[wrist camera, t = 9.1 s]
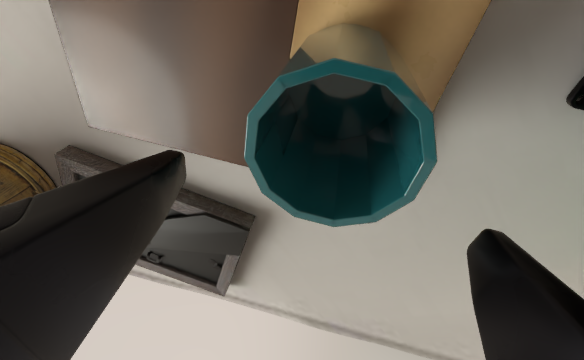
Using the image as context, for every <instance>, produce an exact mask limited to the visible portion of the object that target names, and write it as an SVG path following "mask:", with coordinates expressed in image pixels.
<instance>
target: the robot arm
mask: <svg viewBox="0 0 584 360" xmlns="http://www.w3.org/2000/svg"><path fill="white" fill-rule="evenodd" d="M582 95H583V97H582V99H580V100H579V101H576V100H577V98H578V97H580V96H582ZM566 102H567V104H569V105H570V106H572V107H574V108H577V109H581V110H584V76H583V78H582V79H581V80H580V81H579V83H578V84H577V85H576V86H575V87H574V89H573V90H572V91H571V92H570V94H569V95H568V97H567V98H566ZM185 179H186V166H185V157H184V154H183V153H181V152H177V151H173V150H167V151H164V152H161V153H158V154H155V155H152V156H149V157H146V158H144V159H141V160H138V161H135V162H132V163H129V164H126V165H123V166H120V167H117V168H114V169H111V170H108V171H105V172H102V173H99V174H96V175H93V176H90V177H87V178H84V179H81V180H78V181H75V182H72V183H69V184H66V185H63V186H60V187H57V188H54V189H52V190H49V191H46V192H43V193H40V194H37V195H34V197H28V198H25V199H22V200H19V201H16V202H13V203H10V204H7V205H4V206H1V207H0V360H70V359H71V358H72V356H73V355H74V353H75V352H76V350H77V349H78V347H79V346H80V344H81V343H82V341H83V340H84V338H85V337H86V336H87V334H88V333H89V331H90V330H91V328H92V327H93V325H94V324H95V322H96V321H97V319H98V318H99V317H100V315H101V314H102V312H103V311H104V309H105V308H106V306H107V305H108V303H109V302H110V300H111V299H112V297H113V296H114V295H115V293H116V292H117V290H118V289H119V287H120V286H121V284H122V283H123V281H124V279H125V278H126V277H127V275H128V274H129V273H130V271H131V270H132V268H133V267H134V265H135V264H136V262H137V261H138V259H139V258H140V256H141V255H142V253H143V252H144V251H145V249H146V248H147V246H148V245H149V243H150V242H151V240H152V239H153V237H154V236H155V234H156V233H157V231H158V230H159V228H160V227H161V225H162V224H163V222H164V220H165V219H166V217H167V215H168V213H169V211H170V209H171V207H172V205H173V203H174V202H175V200H176V198H177V196H178V194H179V192H180V190H181V188H182V186H183V184H184V182H185ZM467 259H468V268H469V276H470V285H471V293H472V300H473V306H474V311H475V315H476V319H477V324H478V328H479V332H480V337H481V341H482V345H483V349H484V354H485V358H486V360H584V299H583V298H581V297H580V296H579V295H578V294H577V293H575V292H574V291H573V290H572V289H571V288H569V287H568V286H567V285H566V284H564V283H563V282H562V281H561V280H560V279H558V278H557V277H556V276H555V275H554V274H552V273H551V272H550V271H549V270H548V269H546V268H545V267H544V266H543V265H541V264H540V263H539V262H538V261H537V260H535V259H534V258H533V257H532V256H531V255H529V254H528V253H527V252H526V251H525V250H523V249H522V248H521V247H520V246H518V245H517V244H516V243H515V242H514V241H512V240H511V239H510V238H509V237H508V236H506V235H505V234H504V233H502V232H500V231H496V230H492V229H485V230H483V231H482V232H481V233H480V234H479V235H478V236H477V237H476V238H475V240H474V241H473V242H472V243H471V244H470V245H469V247H468V249H467Z"/></svg>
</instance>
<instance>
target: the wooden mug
mask: <svg viewBox="0 0 584 360" xmlns="http://www.w3.org/2000/svg"><path fill="white" fill-rule="evenodd" d="M54 188H56V187H55V185H54V184H53V182H52V180H51V179H50V178H49V177H48V176H47V175H46V174H45V172H44V171H43V170H42V169H41V168H39V167H38V166H37V165H36V164H35V163H34V162H33V161H32V160H30V159H29V158H27V157H26V156H25V155H23V154H22V153H20V152H18V151H16V150H14V149H12V148H10V147H8V146H5V145H1V144H0V207H1V206H4V205H7V204H10V203H13V202H16V201H19V200H22V199H25V198H28V197H34V195H37V194H40V193H43V192H46V191H49V190H52V189H54Z"/></svg>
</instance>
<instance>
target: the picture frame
mask: <svg viewBox="0 0 584 360" xmlns="http://www.w3.org/2000/svg"><path fill="white" fill-rule="evenodd" d="M55 158H56V162H57V166H58V170H59V174H60V178H61V181H62V185H66V184H69V183H72V182H75V181H78V180H81V179H84V178H87V177H90V176H93V175H96V174H99V173H102V172H105V171H108V170H111V169H114V168H117V167H120V166H122V165H120V164H117V163H114V162H112V161H109V160H107V159H104V158H101V157H99V156H96V155H93V154H91V153H88V152H86V151H83V150H80V149H78V148H75V147H72V146H70V145H69V146H67V147H66V148H64V149H62V150H61V151H59V152H57V153H56V154H55ZM254 218H255V216H253V215H251V214H248V213H245V212H243V211H240V210H237V209H235V208H232V207H230V206H227V205H224V204H222V203H219V202H217V201H214V200H211V199H209V198H206V197H203V196H201V195H198V194H196V193H193V192H190V191H188V190H185V189H182V188H181V190H180V192H179V194H178V196H177V198H176V200H175V202H174V203H173V205H172V207H171V209H170V211H169V213H168V215H167V217H166V219H165V220H164V222H163V224H162V225H161V227H160V228H159V230H158V231H157V233H156V234H155V236H154V237H153V239H152V240H151V242H150V243H149V245H148V246H147V248H146V249H145V251H144V252H143V253H142V255H141V256H140V258H139V259H138V261H137V262H136V264H135V265H138V266H141V267H144V268H146V269H149V270H152V271H155V272H158V273H160V274H163V275H166V276H169V277H172V278H174V279H177V280H180V281H183V282H185V283H188V284H191V285H194V286H197V287H199V288H202V289H205V290H208V291H210V292H213V293H216V294H219V295H222V296H225V294H226V291H227V289H228V286H229V284H230V281H231V279H232V276H233V273H234V271H235V268H236V266H237V263H238V260H239V258H240V255H241V252H242V250H243V247H244V245H245V242H246V239H247V237H248V234H249V231H250V229H251V226H252V224H253V221H254Z"/></svg>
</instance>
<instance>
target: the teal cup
mask: <svg viewBox="0 0 584 360" xmlns="http://www.w3.org/2000/svg"><path fill="white" fill-rule="evenodd" d="M244 159H245V161H246V163H247V165H248V167H249V168H250V170H251V172H252V174H253V176H254V178H255V180H256V182H257V184H258V186H259V188H260V190H261V192H262V193H263V194H264V195H266V196H267V197H268V198H270V199H271V200H272V201H274V202H275V203H276V204H278V205H279V206H280V207H282V208H283V209H284V210H286V211H287V212H288V213H290V214H291V215H292V216H294V217H297V218H301V219H305V220H308V221H312V222H316V223H320V224H324V225H328V226H332V227H339V226H347V225H356V224H364V223H373V222H377V221H379V220H381V219H382V218H384V217H386V216H387V215H389V214H391V213H393V212H394V211H396V210H398V209H400V208H401V207H403V206H405V205H407V204H408V203H410V202H412V201H413V200H414V199H415V198H416V196H417V194H418V193H419V191H420V189H421V188H422V186H423V184H424V183H425V181H426V179H427V178H428V176H429V174H430V173H431V171H432V170H433V168H434V166H435V165H436V163H437V152H436V140H435V128H434V116H433V112H432V110H431V108H430V107H429V105H428V103H427V101H426V99H425V98H424V96H423V94H422V92H421V90H420V88H419V87H418V85H417V83H416V81H415V79H414V77H413V76H412V74H411V72H410V70H409V68H408V67H407V65H406V63H405V61H404V59H403V57H402V56H401V55H400V54H399V53H398V52H397V51H396V49H395V48H394V47H393V46H392V44H391V43H390V42H389V41H388V40H387V39H386V38H385V37H384V36H383V35H382V34H381V33H380V32H379V31H377V30H373V29H371V28H369V27H366V26H362V25H358V24H347V23H341V24H338V25H333V26H329V27H326V28H324V29H322V30H320V31H318V32H316V33H314V34H311V35H309V36H308V37H307V38H306V39H305V41H304V42H303V43H302V44H301V46H300V47H299V48H298V49H297V51H296V52H295V53H294V54H293V55H292V57H291V58H290V59H289V60H288V62H287V63H286V64H285V66H284V67H283V68H282V70H281V71H280V72H279V74H278V75H277V76H276V78H275V79H274V80H273V81H272V83H271V84H270V85H269V87H268V88H267V89H266V91H265V92H264V93H263V95H262V96H261V97H260V99H259V100H258V101H257V103H256V104H255V105H254V106H253V108H252V109H251V110H250V112H249V113H248V115H247V124H246V137H245V149H244Z"/></svg>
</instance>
